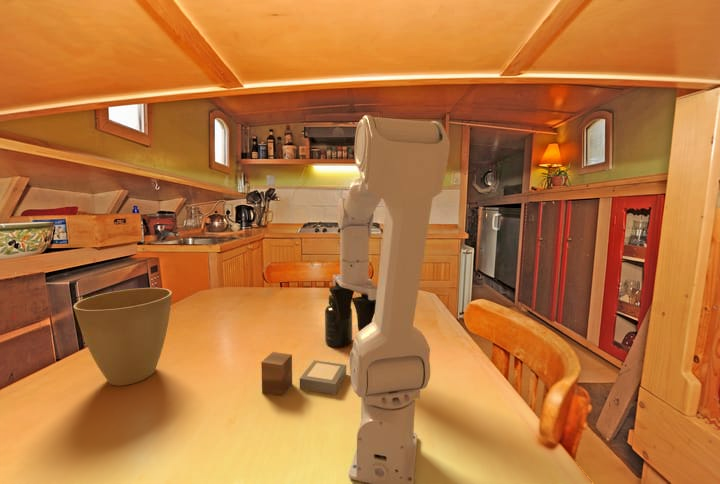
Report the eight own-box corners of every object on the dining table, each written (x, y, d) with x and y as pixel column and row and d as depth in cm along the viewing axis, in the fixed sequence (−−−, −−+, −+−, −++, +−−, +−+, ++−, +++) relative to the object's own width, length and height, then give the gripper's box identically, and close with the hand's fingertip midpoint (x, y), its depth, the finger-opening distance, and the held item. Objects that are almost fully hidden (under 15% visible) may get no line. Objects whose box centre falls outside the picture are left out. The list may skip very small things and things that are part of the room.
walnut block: (282, 396, 54) (281, 365, 53) (262, 393, 55) (261, 362, 54) (292, 384, 58) (291, 354, 57) (273, 381, 59) (272, 351, 58)
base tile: (335, 394, 55) (335, 383, 54) (299, 388, 56) (299, 378, 56) (346, 374, 61) (346, 364, 61) (314, 369, 63) (314, 359, 63)
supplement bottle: (340, 334, 81) (340, 290, 79) (357, 342, 76) (358, 296, 75) (319, 342, 76) (319, 295, 75) (336, 351, 71) (337, 302, 70)
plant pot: (187, 354, 69) (183, 286, 67) (155, 394, 54) (149, 308, 52) (113, 359, 66) (107, 288, 64) (58, 402, 52) (49, 312, 50)
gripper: (393, 263, 57) (391, 333, 58) (352, 253, 69) (351, 311, 70) (361, 267, 53) (360, 341, 54) (324, 255, 65) (324, 317, 66)
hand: (353, 325), depth 62 cm, fingers open, 7 cm apart
